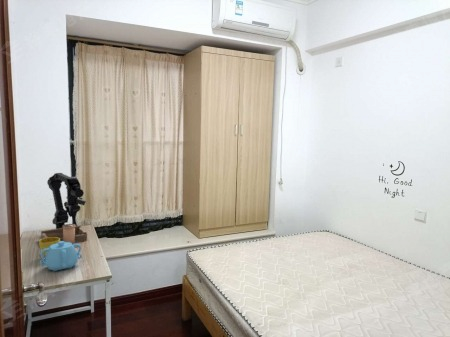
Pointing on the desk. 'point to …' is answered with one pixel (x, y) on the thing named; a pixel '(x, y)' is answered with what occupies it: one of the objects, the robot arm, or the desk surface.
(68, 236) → the terracotta pot
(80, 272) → the desk surface
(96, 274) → the desk surface
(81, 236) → the frame
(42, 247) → the plant pot
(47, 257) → the decorative pot
